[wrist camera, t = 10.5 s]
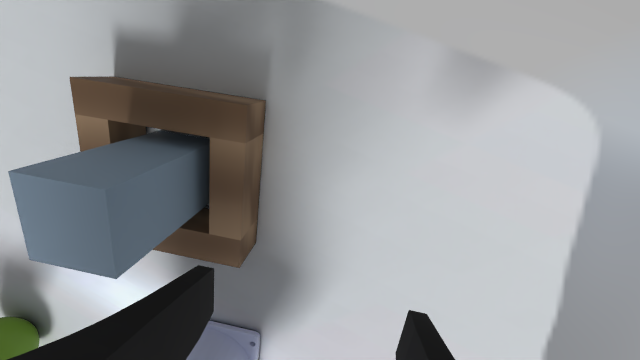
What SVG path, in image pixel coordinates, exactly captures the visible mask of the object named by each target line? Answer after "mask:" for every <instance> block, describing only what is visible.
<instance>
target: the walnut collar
mask: <svg viewBox="0 0 640 360" xmlns="http://www.w3.org/2000/svg"><path fill="white" fill-rule="evenodd" d="M70 84H71V90H72V97H73V104H74V111H75V117H76V124H77V131H78V138H79V144H80V151H81V152H82V151H86V150H89V149H93V148H97V147H101V146H104V145H108V144H112V143H116V142H119V141H123V140H127V139H130V138H134V137H138V136H142V135H145V134H146V127H152V128H158V129H164V130H170V131H175V132H181V133H187V134H193V135H199V136H205V137H210V181H209V209H208V208H203V209H202V210H200V211H199V212H198V213H197V214H195V215H194V216H193V217H192V218H191V219H189V220H188V221H187V222H186V223H184V224H183V225H182V226H181V227H179V228H178V229H177V230H176V231H175V232H173V233H172V234H171V235H170V236H168V237H167V238H166V239H165V240H164V241H162V242H161V243H160V244H159V245H157V246H156V247H155V248H154V249H152V250H157V251H162V252H166V253H171V254H176V255H181V256H185V257H190V258H195V259H200V260H204V261H209V262H214V263H218V264H223V265H228V266H233V267H237V268H240V266H241V264H242V263H243V261H244V260H245V258H246V257H247V255H248V254H249V252H250V251H251V249H252V248H253V246H254V245H255V243H256V233H257V219H258V205H259V190H260V176H261V162H262V148H263V134H264V119H265V105H266V101H265V100H259V99H252V98H246V97H239V96H233V95H227V94H220V93H214V92H208V91H201V90H195V89H189V88H182V87H176V86H170V85H163V84H157V83H150V82H144V81H138V80H131V79H125V78H119V77H70Z"/></svg>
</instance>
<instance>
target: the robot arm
mask: <svg viewBox="0 0 640 360" xmlns="http://www.w3.org/2000/svg"><path fill="white" fill-rule="evenodd" d="M213 308H214V268H209V267H204V266H200V265H198V266H197V267H195V268H193V269H191V270H190V271H188V272H186V273H185V274H183V275H182V276H180V277H178V278H177V279H175V280H173V281H172V282H170V283H168V284H167V285H165V286H163V287H162V288H160V289H158V290H157V291H155V292H153V293H151V294H150V295H148V296H146V297H145V298H143V299H141V300H139V301H137V302H135V303H134V304H132V305H130V306H128V307H126V308H124V309H122V310H121V311H119V312H117V313H115V314H113V315H111V316H109V317H107V318H105V319H103V320H101V321H99V322H97V323H95V324H93V325H91V326H88V327H86V328H84V329H82V330H80V331H78V332H75V333H73V334H71V335H68V336H66V337H64V338H61V339H59V340H56V341H54V342H51V343H49V344H46V345H44V346H41V347H39V348H36V349H34V350H31V351H29V352H26V353H24V354H21V355H18V356H15V357H13V358H10V359H7V360H258V358H259V347H260V334H259V333H258V332H256V331H252V330H248V329H244V328H239V327H235V326H231V325H226V324H222V323H217V322H213V321H209V320H210V317H211V315H212V313H213ZM396 360H455V359H454V357H453V356H452V354H451V353H450V351H449V349H448V348H447V346H446V345H445V343H444V341H443V340H442V338H441V337H440V335H439V333H438V332H437V330H436V328H435V327H434V325H433V323H432V322H431V320H430V319H429V317H428V315H427V314H425V313H420V312H415V311H411V310H409V311H408V314H407V318H406V321H405V324H404V328H403V331H402V334H401V337H400V341H399V344H398V347H397V351H396Z"/></svg>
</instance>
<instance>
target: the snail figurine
mask: <svg viewBox="0 0 640 360" xmlns="http://www.w3.org/2000/svg"><path fill="white" fill-rule="evenodd" d="M38 346H39V334H38V331H37V329H36V328H35V327H34V325H33V324H31V323H30V322H29V321H27V320H24V319H21V318H17V317H2V318H0V360H7V359H10V358H13V357H15V356H18V355H21V354H24V353H26V352H29V351H31V350H34V349H36V348H38Z"/></svg>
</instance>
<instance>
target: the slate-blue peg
mask: <svg viewBox="0 0 640 360" xmlns="http://www.w3.org/2000/svg"><path fill="white" fill-rule="evenodd" d="M8 172H9V176H10V180H11V185H12V189H13V193H14V197H15V201H16V205H17V209H18V214H19V218H20V222H21V226H22V230H23V234H24V238H25V243H26V247H27V251H28V255H29V259H30V260H33V261H37V262H42V263H46V264H51V265H55V266H60V267H64V268H69V269H73V270H78V271H82V272H87V273H91V274H96V275H100V276H105V277H109V278H114V279H117V278H118V277H119V276H121V275H122V274H123V273H124V272H125V271H127V270H128V269H129V268H130V267H132V266H133V265H134V264H135V263H137V262H138V261H139V260H140V259H141V258H143V257H144V256H145V255H146V254H148V253H149V252H150V251H151V250H152V249H154V248H155V247H156V246H157V245H159V244H160V243H161V242H162V241H164V240H165V239H166V238H167V237H168V236H170V235H171V234H172V233H173V232H175V231H176V230H177V229H178V228H179V227H181V226H182V225H183V224H184V223H186V222H187V221H188V220H189V219H191V218H192V217H193V216H194V215H195V214H197V213H198V212H199V211H200V210H202V209H203V208H204V207H205V206H206V205H208V204H209V181H210V139H209V138H203V137H197V136H191V135H185V134H179V133H173V132H167V131H162V130H160V131H157V132H153V133H149V134H145V135H142V136H138V137H134V138H130V139H127V140H123V141H119V142H116V143H112V144H108V145H104V146H101V147H97V148H93V149H89V150H86V151H82V152H78V153H75V154H71V155H67V156H63V157H60V158H56V159H52V160H49V161H45V162H41V163H37V164H34V165H30V166H26V167H22V168H19V169H15V170H11V171H8Z"/></svg>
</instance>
